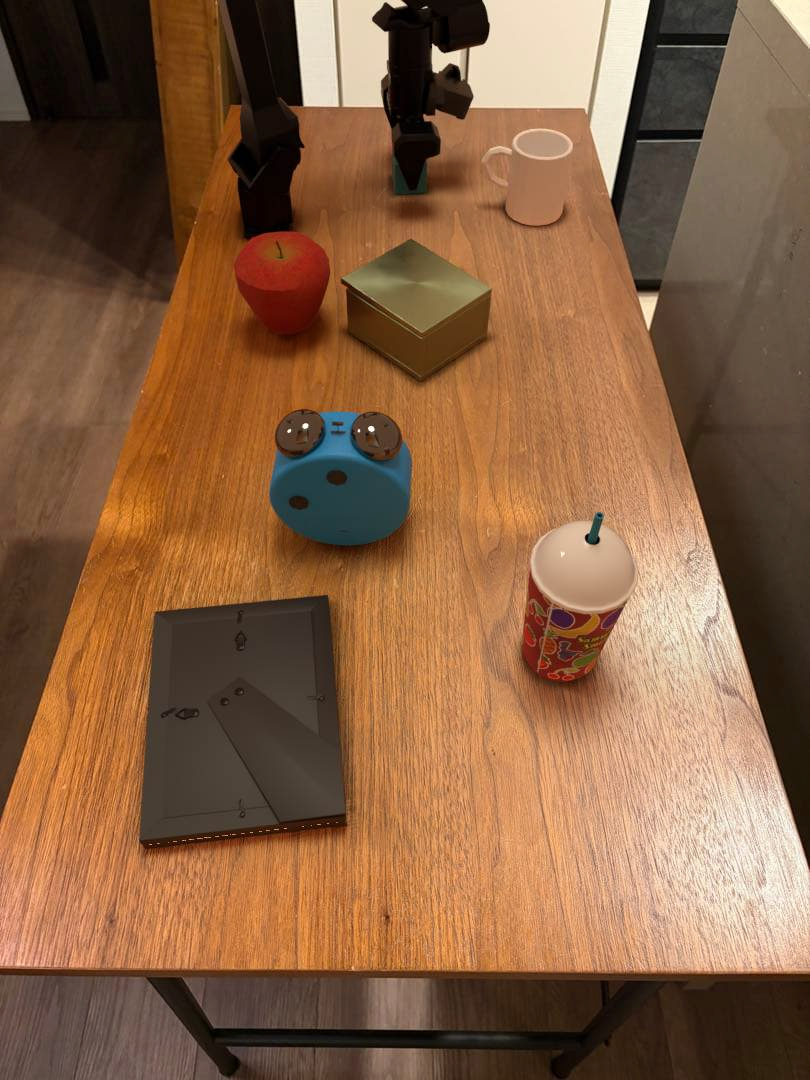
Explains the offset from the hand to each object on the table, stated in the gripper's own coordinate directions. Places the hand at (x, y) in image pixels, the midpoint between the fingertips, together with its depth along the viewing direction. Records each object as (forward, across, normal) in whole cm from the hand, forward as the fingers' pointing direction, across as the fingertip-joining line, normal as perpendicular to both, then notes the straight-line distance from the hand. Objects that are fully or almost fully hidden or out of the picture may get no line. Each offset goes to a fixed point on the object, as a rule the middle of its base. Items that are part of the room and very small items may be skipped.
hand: (408, 172), depth 123 cm
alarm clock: (+2, -63, +14) cm, 65 cm away
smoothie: (+2, -80, -4) cm, 80 cm away
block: (+2, 0, 0) cm, 2 cm away
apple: (+2, -31, +19) cm, 36 cm away
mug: (+2, -8, -15) cm, 17 cm away
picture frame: (+2, -83, +24) cm, 86 cm away
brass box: (+2, -34, +3) cm, 34 cm away
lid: (-5, -34, +3) cm, 34 cm away
